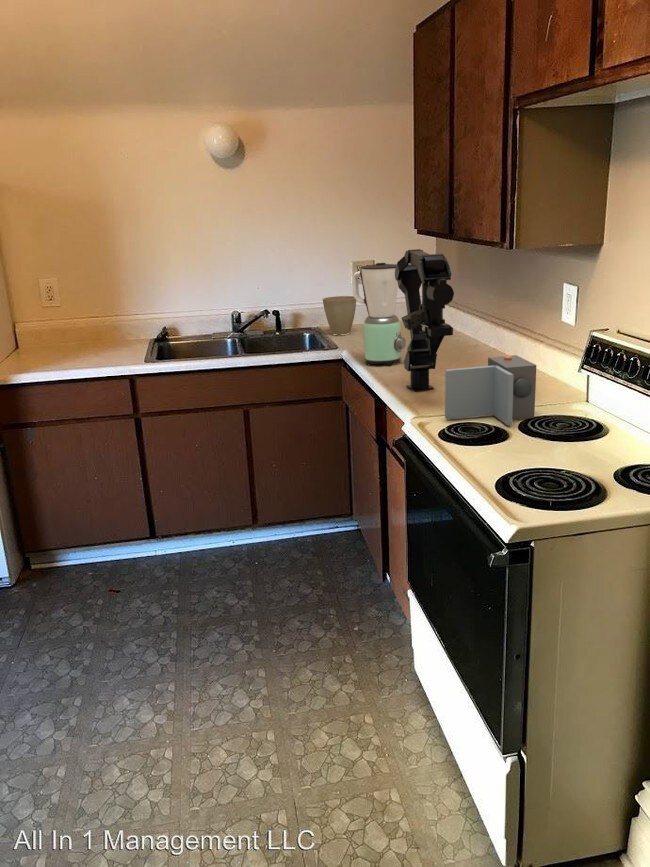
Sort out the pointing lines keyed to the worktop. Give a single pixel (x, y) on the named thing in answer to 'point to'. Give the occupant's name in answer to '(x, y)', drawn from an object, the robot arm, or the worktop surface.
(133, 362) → the worktop surface
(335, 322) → the plant pot
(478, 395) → the grey bookend
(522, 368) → the camera case
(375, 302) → the mint green blender
